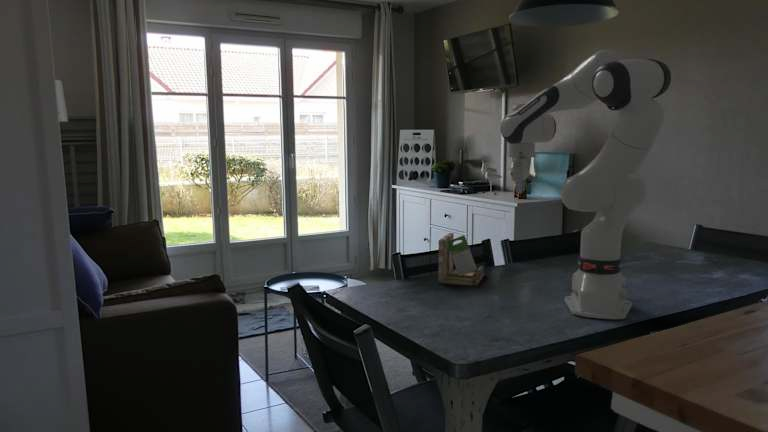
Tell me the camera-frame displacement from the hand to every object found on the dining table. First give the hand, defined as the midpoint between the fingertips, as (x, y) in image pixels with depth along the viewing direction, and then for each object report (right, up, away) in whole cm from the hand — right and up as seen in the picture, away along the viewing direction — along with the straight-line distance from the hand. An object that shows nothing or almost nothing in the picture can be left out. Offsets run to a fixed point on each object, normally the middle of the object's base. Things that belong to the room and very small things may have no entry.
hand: (520, 192), depth 196 cm
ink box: (-18, -29, +5) cm, 34 cm away
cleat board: (-20, -31, +5) cm, 37 cm away
